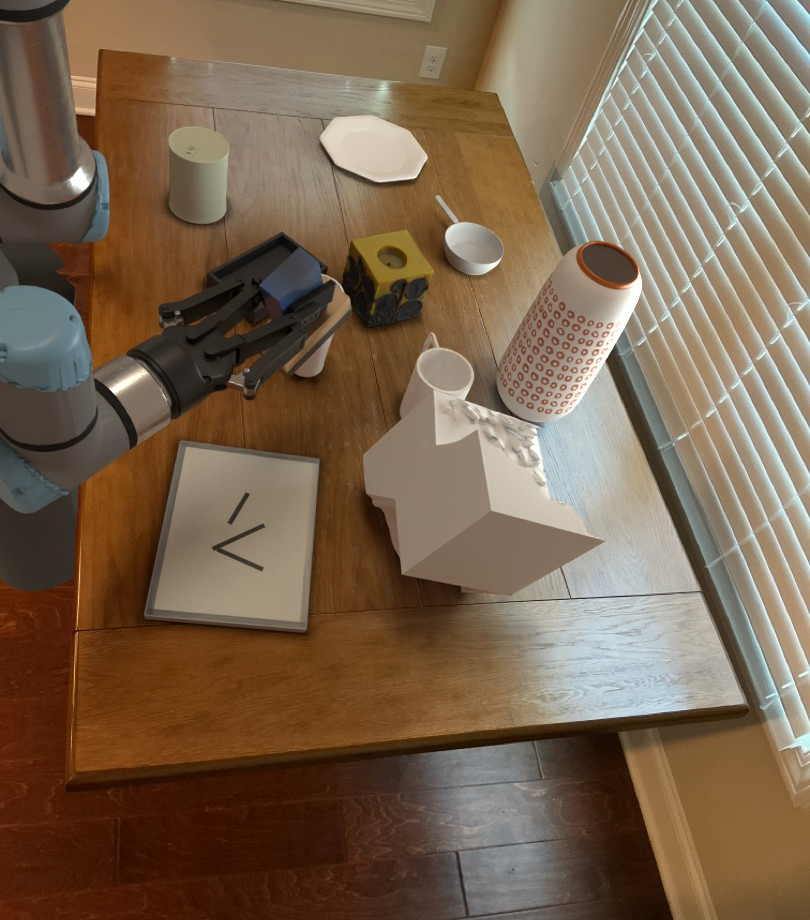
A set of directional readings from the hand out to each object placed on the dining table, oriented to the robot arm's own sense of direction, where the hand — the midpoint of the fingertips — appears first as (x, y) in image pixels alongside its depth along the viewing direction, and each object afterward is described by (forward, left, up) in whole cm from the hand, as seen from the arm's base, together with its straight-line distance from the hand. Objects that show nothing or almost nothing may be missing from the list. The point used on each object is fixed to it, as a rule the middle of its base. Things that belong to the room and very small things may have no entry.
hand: (319, 281), depth 83 cm
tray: (-6, +27, -27) cm, 39 cm away
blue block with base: (0, -1, -8) cm, 8 cm away
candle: (+12, +27, -27) cm, 40 cm away
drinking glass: (+1, +11, -27) cm, 29 cm away
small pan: (+26, +45, -27) cm, 59 cm away
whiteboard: (-5, -18, -27) cm, 32 cm away
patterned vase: (+36, +11, -27) cm, 46 cm away
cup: (+19, +7, -27) cm, 34 cm away
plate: (+10, +67, -27) cm, 73 cm away
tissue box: (+21, -16, -27) cm, 38 cm away
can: (-19, +42, -27) cm, 54 cm away
